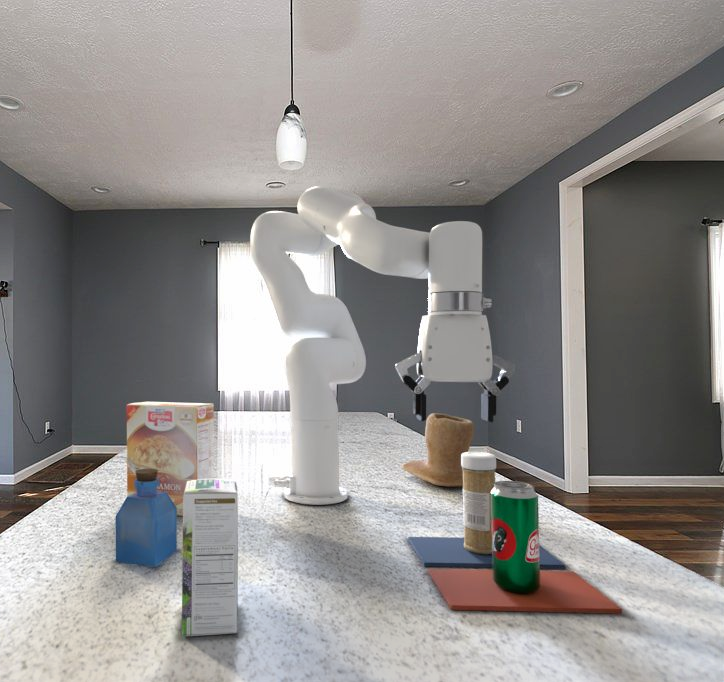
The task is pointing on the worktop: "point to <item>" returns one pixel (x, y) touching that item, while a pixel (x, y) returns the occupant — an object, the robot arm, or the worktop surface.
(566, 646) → the worktop surface
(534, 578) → the soda can
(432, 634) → the worktop surface
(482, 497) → the sprinkles bottle
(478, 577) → the terracotta mat
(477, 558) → the slate-blue mat
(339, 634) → the worktop surface
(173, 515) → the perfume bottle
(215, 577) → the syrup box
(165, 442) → the coffeecake box
